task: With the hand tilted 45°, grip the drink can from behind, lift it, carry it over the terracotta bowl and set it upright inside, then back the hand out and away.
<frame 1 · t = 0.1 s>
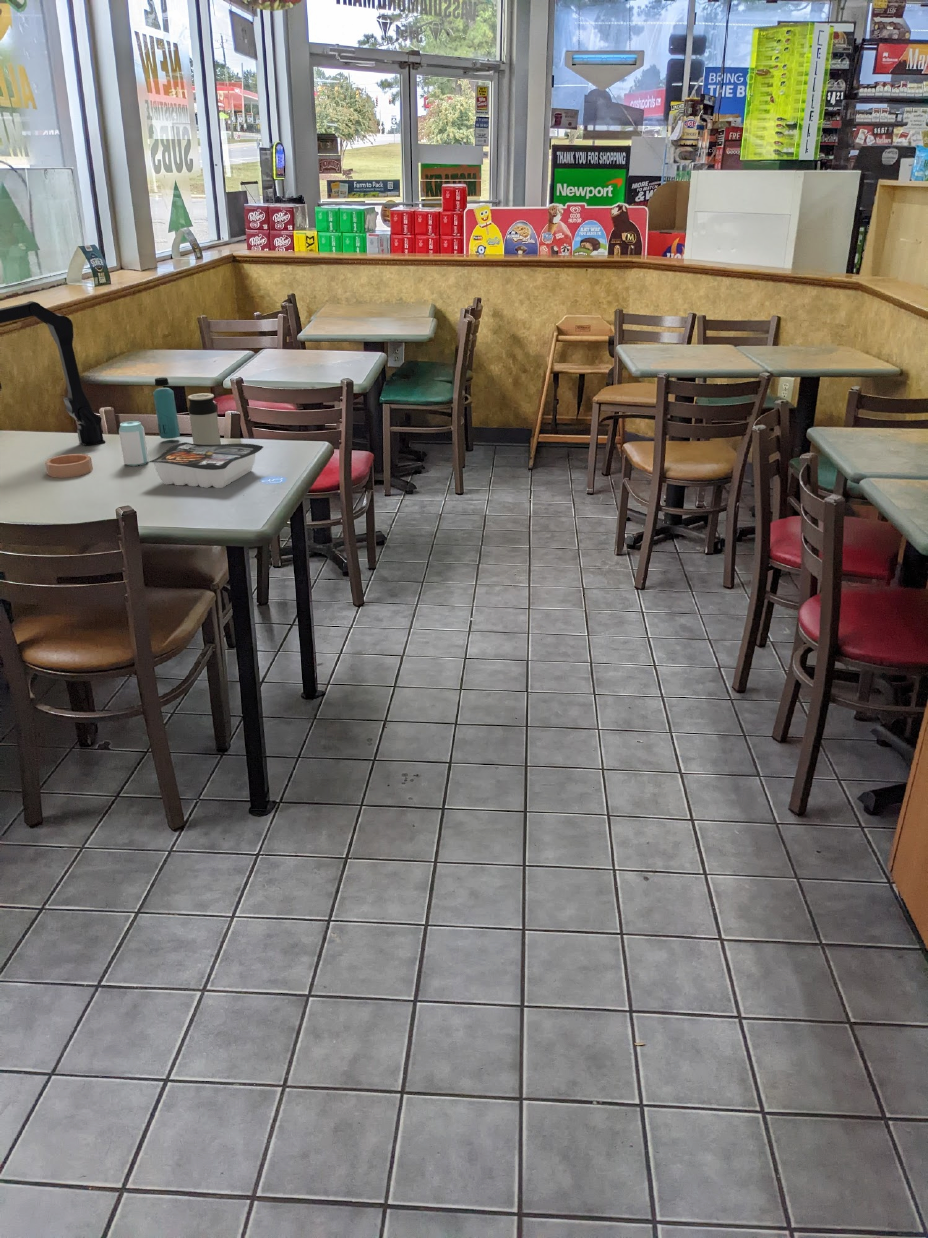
bowl: (70, 471, 283), on the table
food packaging: (207, 479, 275), on the table
can: (137, 464, 290), on the table
travel mug: (208, 456, 296), on the table
beverage bottle: (170, 441, 313), on the table
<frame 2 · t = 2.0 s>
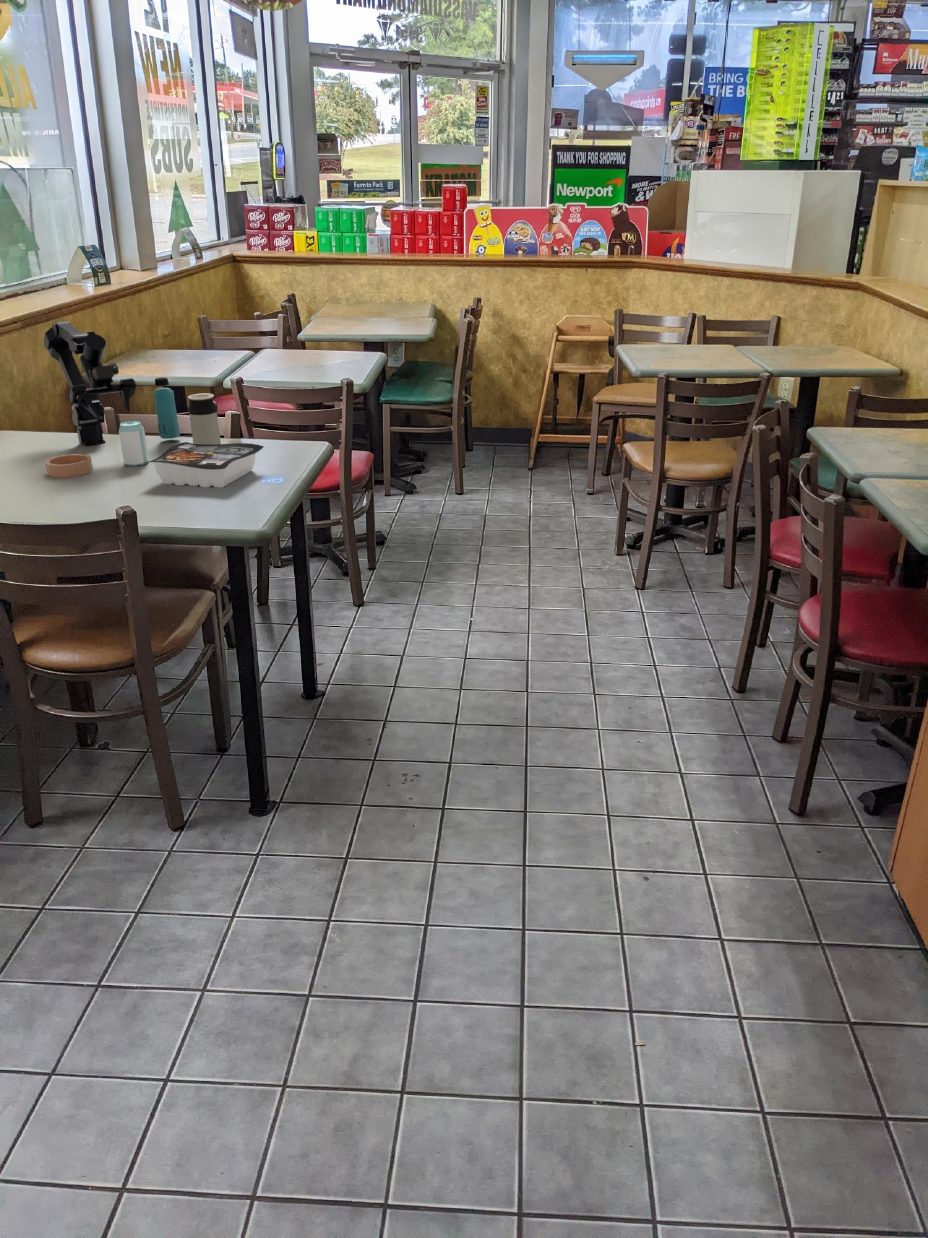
hand: (113, 414, 289), 13 cm above the table, tool tilted 45°, fingers open, 9 cm apart
nothing on the table moved.
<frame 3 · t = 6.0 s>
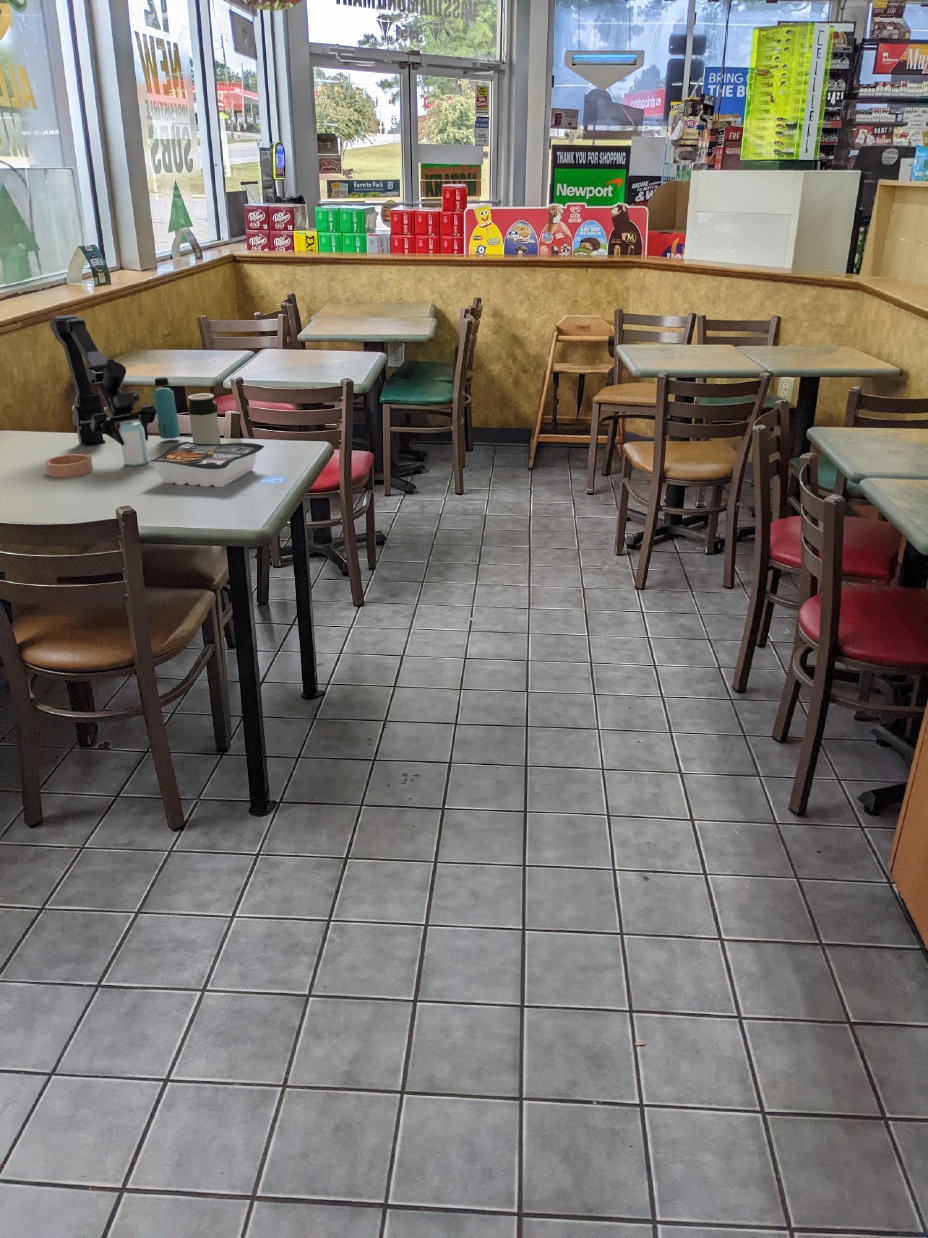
hand: (135, 442, 286), 7 cm above the table, tool tilted 45°, fingers closed on can, 7 cm apart
can: (137, 463, 290), on the table, touching gripper
everything else where it was.
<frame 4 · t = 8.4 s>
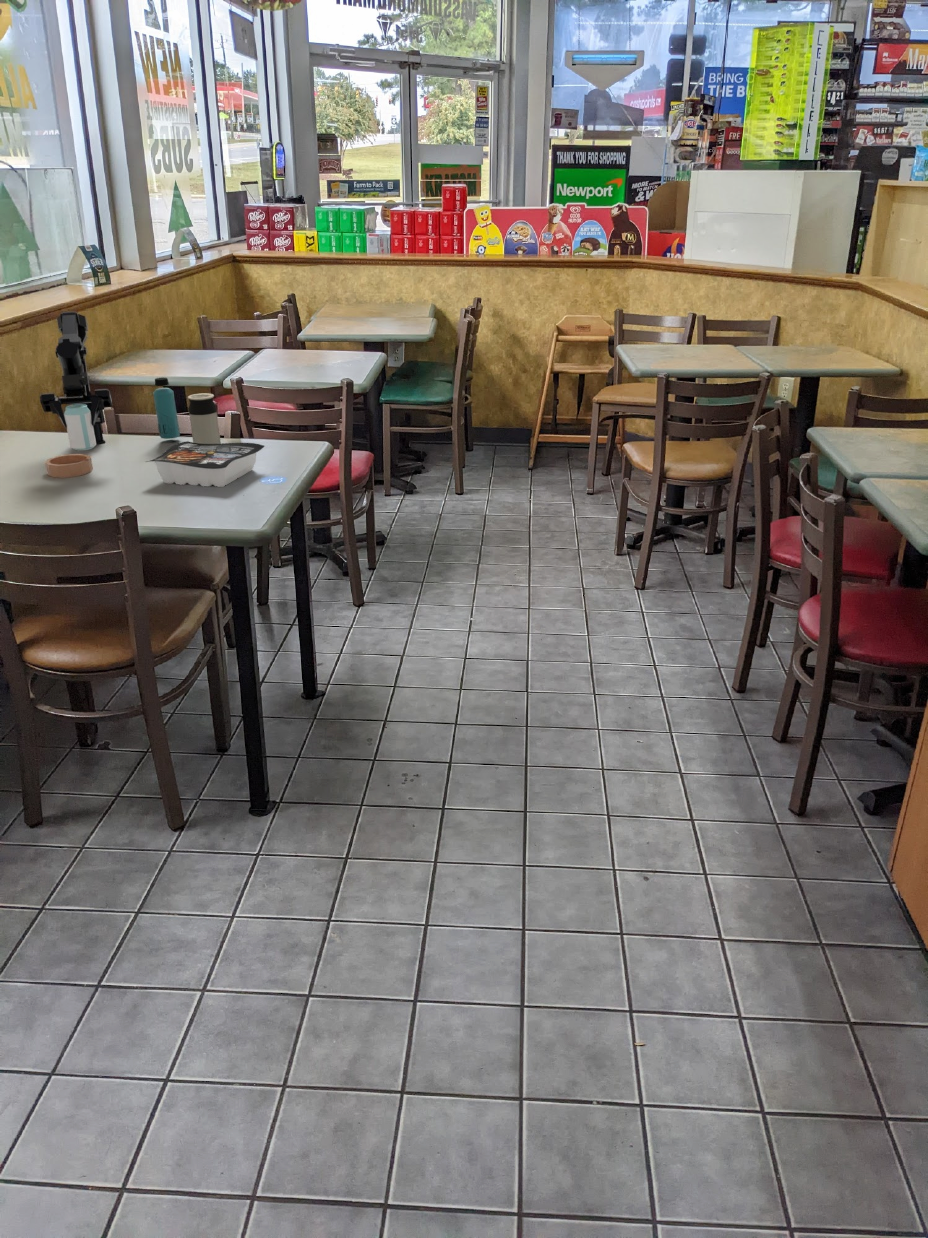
hand: (79, 425, 277), 13 cm above the table, tool tilted 45°, fingers closed on can, 7 cm apart
can: (84, 448, 282), point 6 cm above the table, touching gripper
everything else where it was.
when the fingers open (8 cm above the table, at t = 10.9 s): can stays where it is, resting on bowl.
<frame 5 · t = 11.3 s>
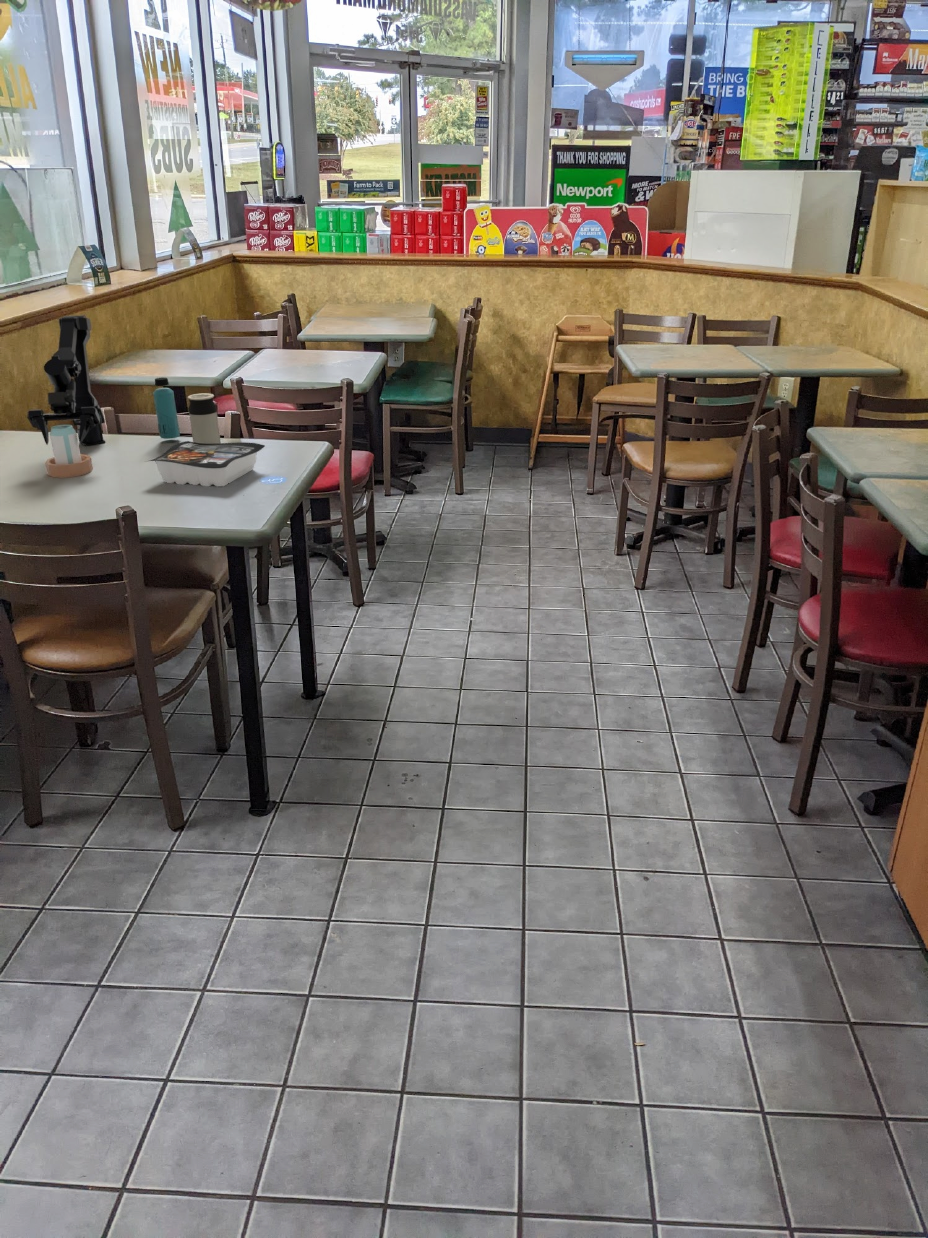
hand: (63, 442, 278), 9 cm above the table, tool tilted 45°, fingers open, 9 cm apart
can: (69, 468, 283), point 1 cm above the table, touching bowl
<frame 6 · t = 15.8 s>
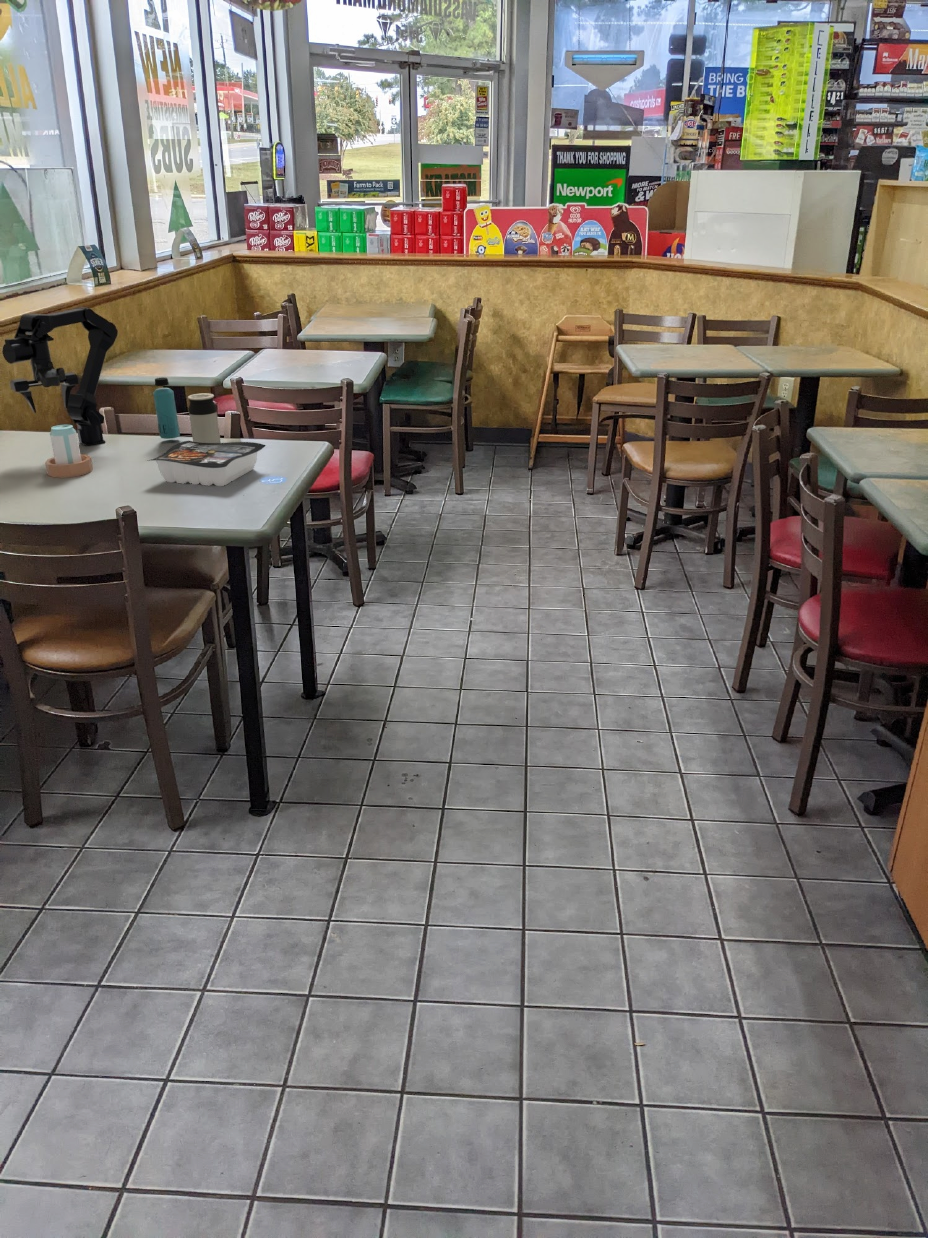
hand: (50, 410, 298), 13 cm above the table, tool pointing down, fingers open, 9 cm apart
at the end: can 0.2 cm off-centre on the bowl, point 0.8 cm above the bowl's base; can tilted 0°; the gripper is holding nothing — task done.
